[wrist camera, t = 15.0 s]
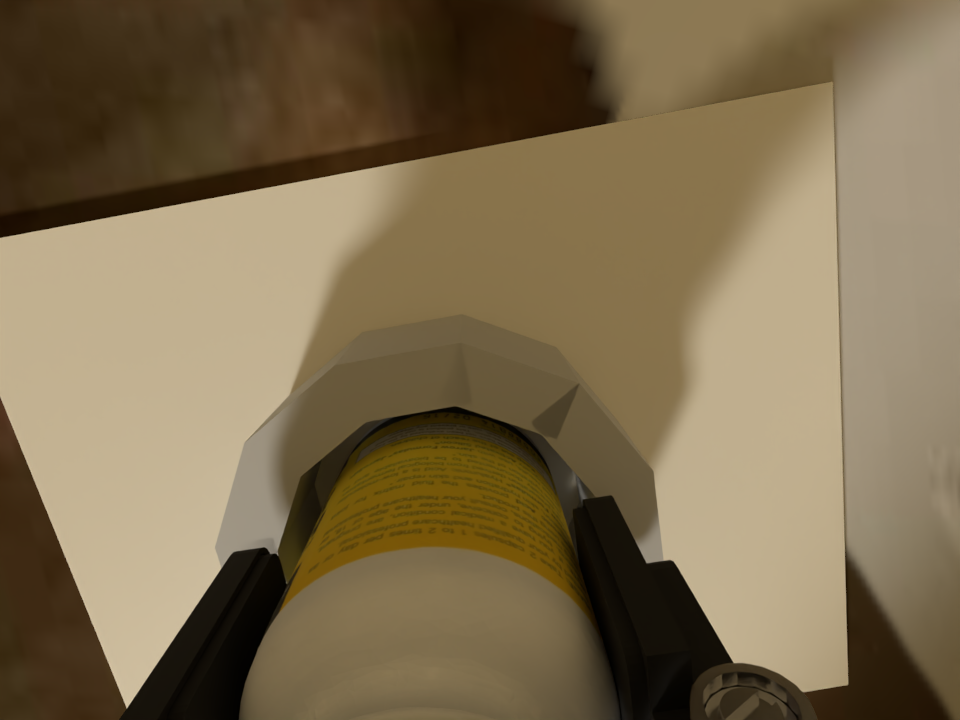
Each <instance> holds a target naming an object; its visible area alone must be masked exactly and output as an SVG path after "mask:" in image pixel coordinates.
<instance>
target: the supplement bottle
mask: <svg viewBox="0 0 960 720" xmlns="http://www.w3.org/2000/svg"><path fill="white" fill-rule="evenodd" d="M239 720H621V718H620V707H619V700H618V694H617V689H616V684H615V681H614V677H613V673H612V669H611V666H610V662H609V659H608V656H607V653H606V649H605V646H604V643H603V639H602V636H601V633H600V630H599V627H598V623H597V620H596V617H595V614H594V611H593V607H592V604H591V601H590V598H589V595H588V592H587V588H586V585H585V582H584V579H583V575H582V572H581V569H580V566H579V562H578V559H577V556H576V552H575V549H574V546H573V543H572V539H571V536H570V533H569V530H568V526H567V523H566V520H565V517H564V514H563V510H562V507H561V503H560V500H559V497H558V494H557V491H556V487H555V484H554V481H553V478H552V475H551V472H550V470H549V467H548V465H547V463H546V461H545V459H544V457H543V455H542V453H541V452H540V450H539V449H538V447H537V446H536V445H535V443H534V442H533V441H532V439H531V438H530V437H529V436H528V435H527V434H526V433H525V432H524V431H523V430H522V429H521V428H520V427H518V426H515V425H512V424H509V423H506V422H503V421H500V420H497V419H494V418H491V417H488V416H485V415H482V414H479V413H476V412H473V411H470V410H467V409H464V408H461V407H458V406H453V407H447V408H442V409H436V410H430V411H425V412H419V413H413V414H408V415H402V416H397V417H391V418H386V419H384V420H382V421H381V422H379V423H378V424H377V425H375V426H374V427H373V428H372V429H371V430H369V431H368V432H367V433H366V434H365V435H364V436H363V437H362V438H361V439H360V441H359V442H358V443H357V445H356V446H355V447H354V449H353V450H352V452H351V453H350V455H349V456H348V458H347V460H346V462H345V464H344V466H343V467H342V469H341V471H340V474H339V476H338V477H337V479H336V481H335V484H334V486H333V488H332V490H331V492H330V494H329V497H328V499H327V501H326V503H325V505H324V507H323V509H322V511H321V513H320V516H319V519H318V521H317V523H316V525H315V527H314V529H313V531H312V533H311V535H310V538H309V540H308V542H307V544H306V546H305V548H304V551H303V553H302V555H301V557H300V559H299V561H298V563H297V566H296V568H295V570H294V572H293V574H292V577H291V579H290V581H289V582H288V584H287V586H286V589H285V591H284V593H283V596H282V598H281V600H280V601H279V603H278V605H277V607H276V609H275V612H274V614H273V616H272V618H271V620H270V622H269V624H268V626H267V628H266V631H265V633H264V636H263V639H262V641H261V643H260V645H259V647H258V650H257V653H256V656H255V658H254V661H253V663H252V666H251V668H250V671H249V673H248V676H247V679H246V682H245V686H244V690H243V694H242V698H241V704H240V712H239Z"/></svg>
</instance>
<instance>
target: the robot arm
mask: <svg viewBox="0 0 960 720" xmlns="http://www.w3.org/2000/svg"><path fill="white" fill-rule="evenodd" d="M573 519H574V527H575V535H576V543H577V551H578V559H579V566H580V569H581V572H582V575H583V579H584V582H585V585H586V588H587V592H588V595H589V598H590V601H591V604H592V607H593V611H594V614H595V617H596V620H597V623H598V627H599V630H600V633H601V636H602V639H603V643H604V646H605V649H606V653H607V656H608V659H609V662H610V666H611V669H612V673H613V677H614V681H615V684H616V689H617V694H618V700H619V707H620V718H621V720H817V717H816V714H815V712H814V709H813V707H812V705H811V703H810V701H809V699H808V698H807V697H806V696H805V694H804V693H803V692H802V691H801V690H800V689H799V688H798V687H797V686H796V685H795V684H794V683H792V682H791V681H789V680H788V679H787V678H785V677H784V676H782V675H781V674H779V673H776V672H774V671H771V670H769V669H767V668H764V667H761V666H756V665H752V664H747V663H733V661H732V659H731V658H730V656H729V654H728V653H727V651H726V649H725V647H724V646H723V644H722V642H721V641H720V639H719V637H718V635H717V634H716V632H715V630H714V629H713V627H712V625H711V623H710V622H709V620H708V618H707V617H706V615H705V613H704V611H703V610H702V608H701V606H700V605H699V603H698V601H697V600H696V598H695V596H694V594H693V593H692V591H691V589H690V588H689V586H688V584H687V582H686V581H685V579H684V577H683V576H682V574H681V572H680V570H679V569H678V567H677V566H676V564H675V563H674V561H672V560H665V561H659V562H652V563H646V561H645V559H644V557H643V555H642V553H641V551H640V549H639V547H638V545H637V543H636V541H635V539H634V537H633V535H632V533H631V531H630V529H629V527H628V525H627V523H626V521H625V519H624V517H623V515H622V513H621V511H620V509H619V507H618V506H617V504H616V502H615V500H614V498H613V496H612V495H609V496H602V497H595V498H589V499H583V500H582V508H575V509H573ZM286 586H287V583H286V579H285V576H284V572H283V568H282V565H281V561H280V558H279V556H278V555H277V554H275V553H274V554H270V552H269V551H268V549H267V548H265V547H262V548H255V549H248V550H242V551H236V552H233V553H232V554H231V555H230V556H229V558H228V559H227V561H226V562H225V564H224V565H223V567H222V568H221V570H220V571H219V573H218V574H217V576H216V577H215V579H214V580H213V582H212V583H211V585H210V586H209V588H208V589H207V591H206V592H205V594H204V595H203V596H202V598H201V599H200V601H199V602H198V604H197V605H196V607H195V608H194V610H193V611H192V613H191V614H190V616H189V617H188V619H187V620H186V622H185V623H184V625H183V626H182V628H181V629H180V631H179V632H178V634H177V635H176V636H175V638H174V639H173V641H172V642H171V644H170V645H169V647H168V648H167V650H166V651H165V653H164V654H163V656H162V657H161V659H160V660H159V662H158V663H157V665H156V666H155V668H154V669H153V671H152V672H151V674H150V675H149V676H148V678H147V679H146V681H145V682H144V684H143V685H142V687H141V688H140V690H139V691H138V693H137V694H136V696H135V697H134V699H133V700H132V702H131V703H130V705H129V706H128V708H127V709H126V711H125V712H124V714H123V715H122V716H121V718H120V719H119V720H239V712H240V704H241V698H242V694H243V690H244V686H245V682H246V679H247V676H248V673H249V671H250V668H251V666H252V663H253V661H254V658H255V656H256V653H257V650H258V647H259V645H260V643H261V641H262V639H263V636H264V633H265V631H266V628H267V626H268V624H269V622H270V620H271V618H272V616H273V614H274V612H275V609H276V607H277V605H278V603H279V601H280V600H281V598H282V596H283V593H284V591H285V589H286Z"/></svg>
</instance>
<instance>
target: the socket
mask: <svg viewBox="0 0 960 720" xmlns="http://www.w3.org/2000/svg"><path fill="white" fill-rule="evenodd" d="M0 397H1V400H2V402H3V405H4V407H5V409H6V412H7V414H8V417H9V419H10V422H11V424H12V427H13V429H14V432H15V434H16V437H17V439H18V441H19V444H20V446H21V449H22V451H23V454H24V456H25V459H26V461H27V464H28V466H29V469H30V471H31V473H32V476H33V478H34V481H35V483H36V486H37V488H38V491H39V493H40V496H41V498H42V501H43V503H44V505H45V508H46V510H47V513H48V515H49V518H50V520H51V523H52V525H53V528H54V530H55V532H56V535H57V537H58V540H59V542H60V545H61V547H62V550H63V552H64V555H65V557H66V560H67V562H68V564H69V567H70V569H71V572H72V574H73V577H74V579H75V582H76V584H77V587H78V589H79V592H80V594H81V596H82V599H83V601H84V604H85V606H86V609H87V611H88V614H89V616H90V619H91V621H92V624H93V626H94V628H95V631H96V633H97V636H98V638H99V641H100V643H101V646H102V648H103V651H104V653H105V656H106V658H107V660H108V663H109V665H110V668H111V670H112V673H113V675H114V678H115V680H116V683H117V685H118V688H119V690H120V692H121V695H122V697H123V700H124V702H125V705H126V707H127V708H128V706H129V705H130V703H131V702H132V700H133V699H134V697H135V696H136V694H137V693H138V691H139V690H140V688H141V687H142V685H143V684H144V682H145V681H146V679H147V678H148V676H149V675H150V674H151V672H152V671H153V669H154V668H155V666H156V665H157V663H158V662H159V660H160V659H161V657H162V656H163V654H164V653H165V651H166V650H167V648H168V647H169V645H170V644H171V642H172V641H173V639H174V638H175V636H176V635H177V634H178V632H179V631H180V629H181V628H182V626H183V625H184V623H185V622H186V620H187V619H188V617H189V616H190V614H191V613H192V611H193V610H194V608H195V607H196V605H197V604H198V602H199V601H200V599H201V598H202V596H203V595H204V594H205V592H206V591H207V589H208V588H209V586H210V585H211V583H212V582H213V580H214V579H215V577H216V576H217V574H218V573H219V571H220V570H221V568H222V567H223V565H224V564H225V562H226V561H227V559H228V558H229V556H230V555H231V554H232V553H233V552H236V551H242V550H248V549H255V548H262V547H265V548H267V549H268V551H269V552H270V554H274V553H275V554H277V555H278V556H279V558H280V561H281V565H282V568H283V572H284V576H285V579H286V583H287V584H288V582H289V581H290V579H291V577H292V574H293V572H294V570H295V568H296V566H297V563H298V561H299V559H300V557H301V555H302V553H303V551H304V548H305V546H306V544H307V542H308V540H309V538H310V535H311V533H312V531H313V529H314V527H315V525H316V523H317V521H318V519H319V516H320V513H321V511H322V509H323V507H324V505H325V503H326V501H327V499H328V497H329V494H330V492H331V490H332V488H333V486H334V484H335V481H336V479H337V477H338V476H339V474H340V471H341V469H342V467H343V466H344V464H345V462H346V460H347V458H348V456H349V455H350V453H351V452H352V450H353V449H354V447H355V446H356V445H357V443H358V442H359V441H360V439H361V438H362V437H363V436H364V435H365V434H366V433H367V432H368V431H369V430H371V429H372V428H373V427H374V426H375V425H377V424H378V423H379V422H381V421H382V420H384V419H386V418H391V417H397V416H402V415H408V414H413V413H419V412H425V411H430V410H436V409H442V408H447V407H453V406H458V407H461V408H464V409H467V410H470V411H473V412H476V413H479V414H482V415H485V416H488V417H491V418H494V419H497V420H500V421H503V422H506V423H509V424H512V425H515V426H518V427H520V428H521V429H522V430H523V431H524V432H525V433H526V434H527V435H528V436H529V437H530V438H531V439H532V441H533V442H534V443H535V445H536V446H537V447H538V449H539V450H540V452H541V453H542V455H543V457H544V459H545V461H546V463H547V465H548V467H549V470H550V472H551V475H552V478H553V481H554V484H555V487H556V491H557V494H558V497H559V500H560V503H561V507H562V510H563V514H564V517H565V520H566V523H567V526H568V530H569V533H570V536H571V539H572V543H573V546H574V549H575V552H576V556H577V559H578V551H577V543H576V535H575V527H574V519H573V509H575V508H582V500H583V499H589V498H595V497H602V496H609V495H612V496H613V498H614V500H615V502H616V504H617V506H618V507H619V509H620V511H621V513H622V515H623V517H624V519H625V521H626V523H627V525H628V527H629V529H630V531H631V533H632V535H633V537H634V539H635V541H636V543H637V545H638V547H639V549H640V551H641V553H642V555H643V557H644V559H645V561H646V563H652V562H659V561H665V560H672V561H674V563H675V564H676V566H677V567H678V569H679V570H680V572H681V574H682V576H683V577H684V579H685V581H686V582H687V584H688V586H689V588H690V589H691V591H692V593H693V594H694V596H695V598H696V600H697V601H698V603H699V605H700V606H701V608H702V610H703V611H704V613H705V615H706V617H707V618H708V620H709V622H710V623H711V625H712V627H713V629H714V630H715V632H716V634H717V635H718V637H719V639H720V641H721V642H722V644H723V646H724V647H725V649H726V651H727V653H728V654H729V656H730V658H731V659H732V661H733V663H747V664H752V665H756V666H761V667H764V668H767V669H769V670H771V671H774V672H776V673H779V674H781V675H782V676H784V677H785V678H787V679H788V680H789V681H791V682H792V683H794V684H795V685H796V686H797V687H798V688H799V689H800V690H801V691H802V692H808V691H814V690H820V689H826V688H832V687H838V686H845V685H848V657H847V618H846V579H845V539H844V500H843V461H842V421H841V382H840V343H839V304H838V264H837V225H836V186H835V147H834V107H833V81H832V82H827V83H822V84H816V85H811V86H806V87H801V88H795V89H790V90H785V91H779V92H774V93H769V94H763V95H758V96H753V97H747V98H742V99H737V100H731V101H726V102H721V103H715V104H710V105H705V106H700V107H694V108H689V109H684V110H678V111H673V112H668V113H662V114H657V115H652V116H646V117H641V118H636V119H630V120H625V121H620V122H615V123H609V124H604V125H599V126H593V127H588V128H583V129H577V130H572V131H567V132H561V133H556V134H551V135H545V136H540V137H535V138H529V139H524V140H519V141H514V142H508V143H503V144H498V145H492V146H487V147H482V148H476V149H471V150H466V151H460V152H455V153H450V154H444V155H439V156H434V157H428V158H423V159H418V160H413V161H407V162H402V163H397V164H391V165H386V166H381V167H375V168H370V169H365V170H359V171H354V172H349V173H343V174H338V175H333V176H328V177H322V178H317V179H312V180H306V181H301V182H296V183H290V184H285V185H280V186H274V187H269V188H264V189H258V190H253V191H248V192H242V193H237V194H232V195H227V196H221V197H216V198H211V199H205V200H200V201H195V202H189V203H184V204H179V205H173V206H168V207H163V208H157V209H152V210H147V211H142V212H136V213H131V214H126V215H120V216H115V217H110V218H104V219H99V220H94V221H88V222H83V223H78V224H72V225H67V226H62V227H56V228H51V229H46V230H41V231H35V232H30V233H25V234H19V235H14V236H9V237H3V238H0ZM578 562H579V559H578Z"/></svg>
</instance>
